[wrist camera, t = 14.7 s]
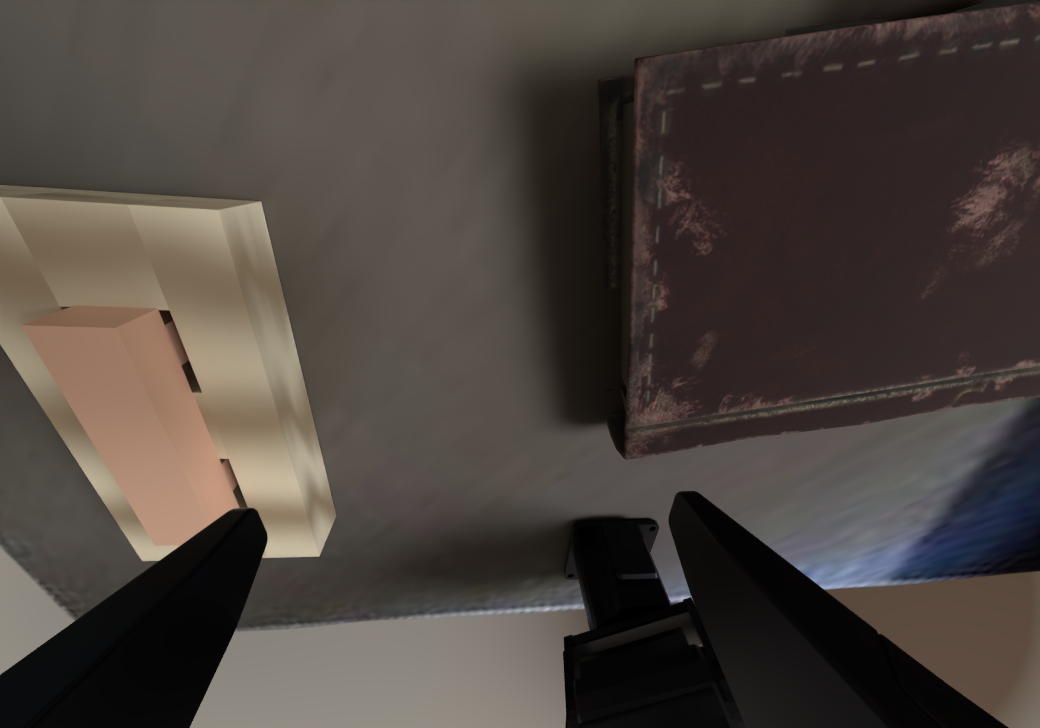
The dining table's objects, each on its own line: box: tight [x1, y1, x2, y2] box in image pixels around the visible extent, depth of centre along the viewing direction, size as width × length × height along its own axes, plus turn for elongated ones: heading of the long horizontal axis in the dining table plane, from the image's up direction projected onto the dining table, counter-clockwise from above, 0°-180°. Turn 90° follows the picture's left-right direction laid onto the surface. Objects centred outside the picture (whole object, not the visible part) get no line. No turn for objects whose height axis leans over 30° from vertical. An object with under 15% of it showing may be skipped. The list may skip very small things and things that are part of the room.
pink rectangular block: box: [21, 305, 239, 546], centre depth 18 cm, size 12×3×5 cm, turn 176°
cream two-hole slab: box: [0, 185, 336, 561], centre depth 19 cm, size 20×10×3 cm, turn 176°
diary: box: [598, 0, 1040, 459], centre depth 18 cm, size 19×25×5 cm
